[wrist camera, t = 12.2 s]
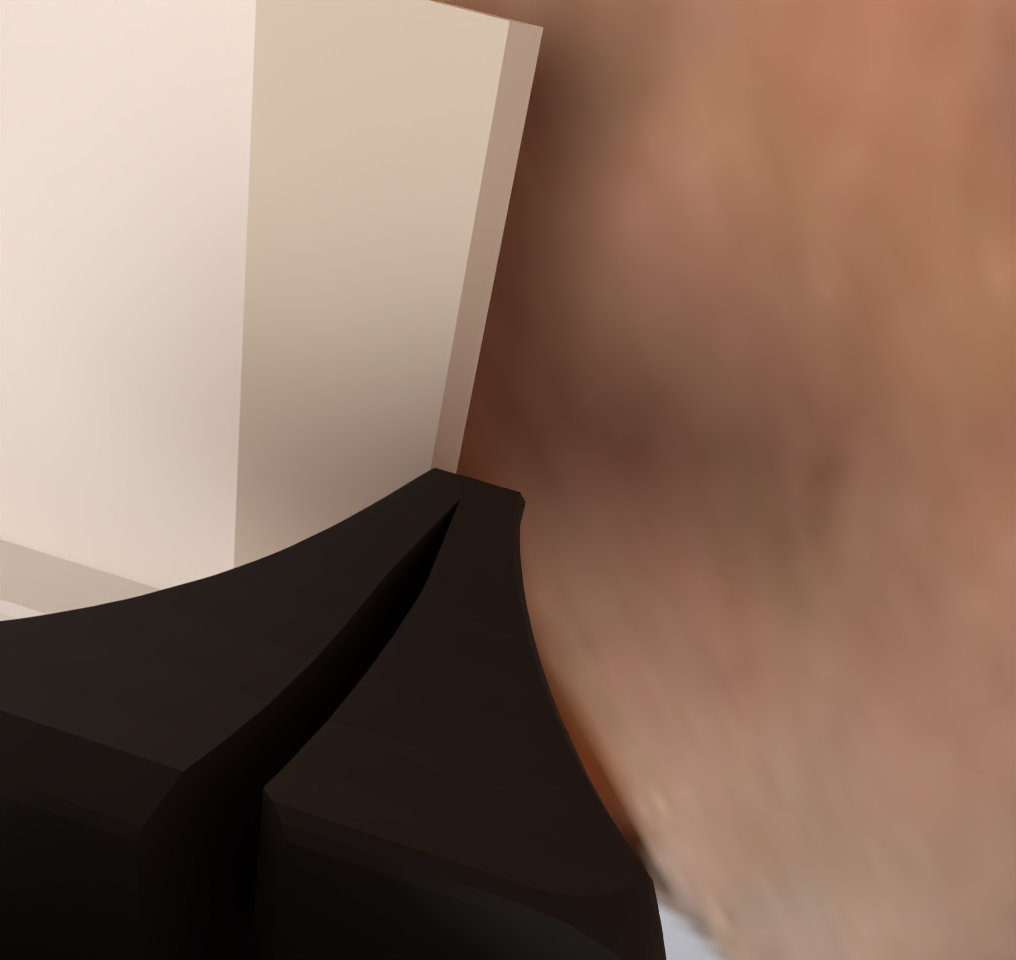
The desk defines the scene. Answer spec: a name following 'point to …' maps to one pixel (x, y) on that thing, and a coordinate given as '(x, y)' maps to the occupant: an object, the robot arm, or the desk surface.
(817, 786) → the desk surface
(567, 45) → the desk surface
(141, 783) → the robot arm
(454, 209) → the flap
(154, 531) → the carton
